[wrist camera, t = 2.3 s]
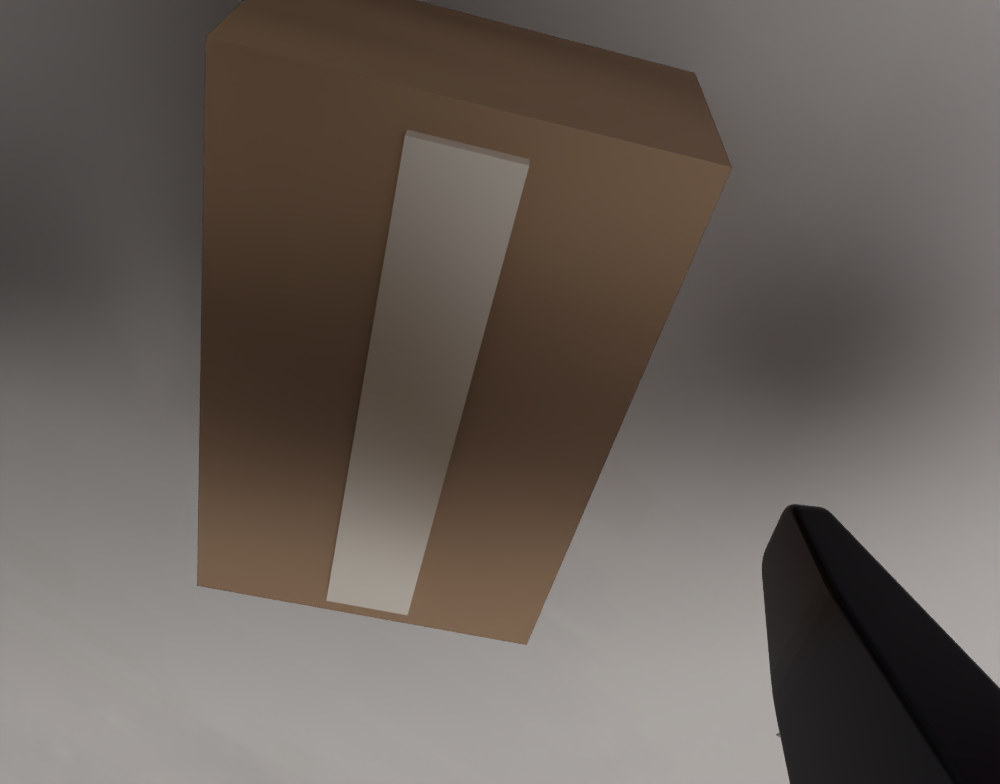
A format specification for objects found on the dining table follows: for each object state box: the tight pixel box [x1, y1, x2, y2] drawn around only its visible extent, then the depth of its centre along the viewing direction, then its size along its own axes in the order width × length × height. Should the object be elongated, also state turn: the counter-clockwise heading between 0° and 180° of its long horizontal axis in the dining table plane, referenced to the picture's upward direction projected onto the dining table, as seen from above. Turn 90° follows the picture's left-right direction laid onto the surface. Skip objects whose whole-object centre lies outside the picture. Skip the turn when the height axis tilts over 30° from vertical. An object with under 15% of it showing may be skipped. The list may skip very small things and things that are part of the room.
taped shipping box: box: [197, 0, 732, 645], centre depth 12 cm, size 8×5×3 cm, turn 167°
